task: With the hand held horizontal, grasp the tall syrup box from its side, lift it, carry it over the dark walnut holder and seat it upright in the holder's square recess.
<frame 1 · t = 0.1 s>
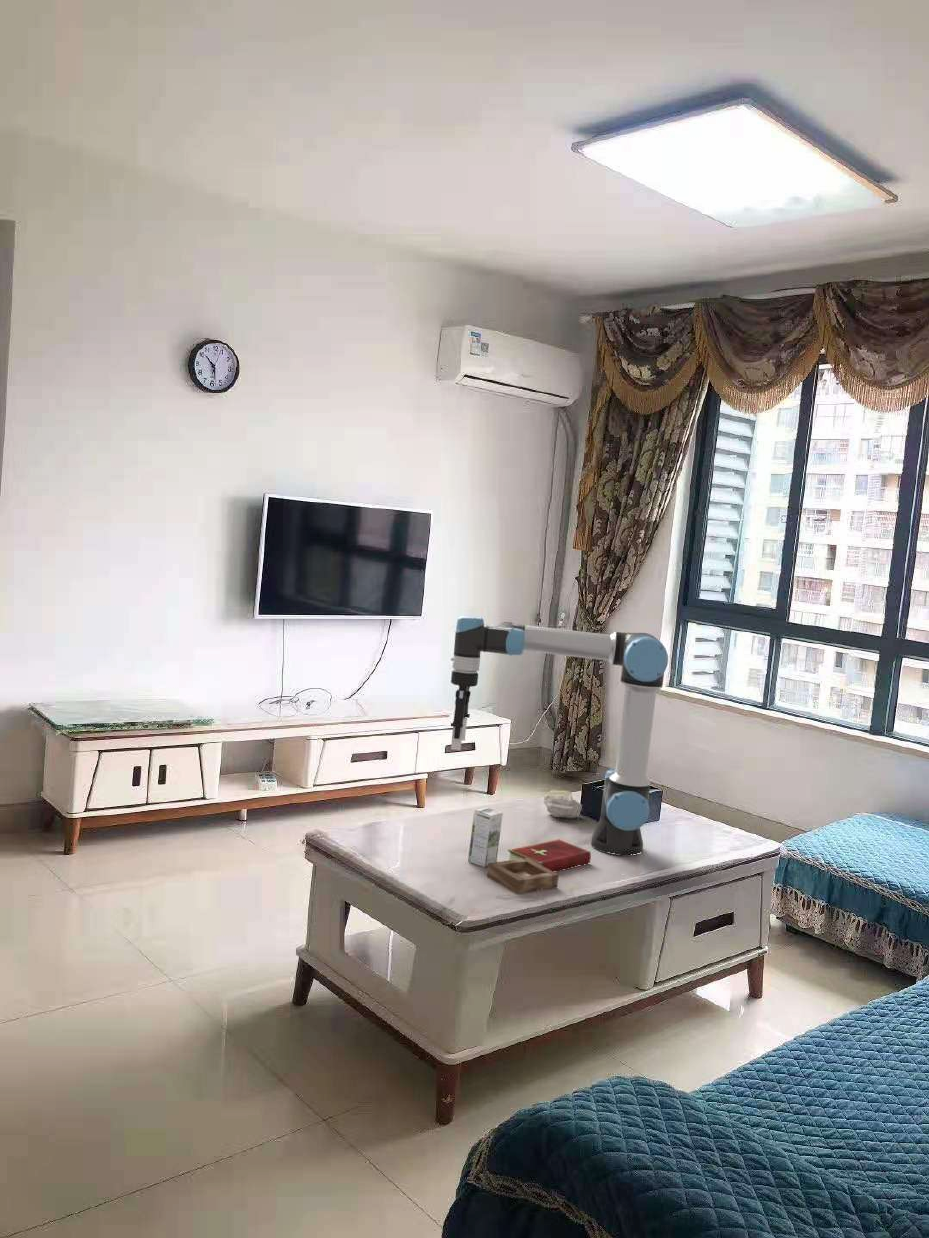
hand: (458, 744, 291), 28 cm above the table, tool pointing down, fingers open, 13 cm apart
walnut holder: (521, 881, 265), on the table
syrup box: (482, 863, 277), on the table
fossil replica: (561, 817, 330), on the table
hardcover book: (548, 865, 283), on the table
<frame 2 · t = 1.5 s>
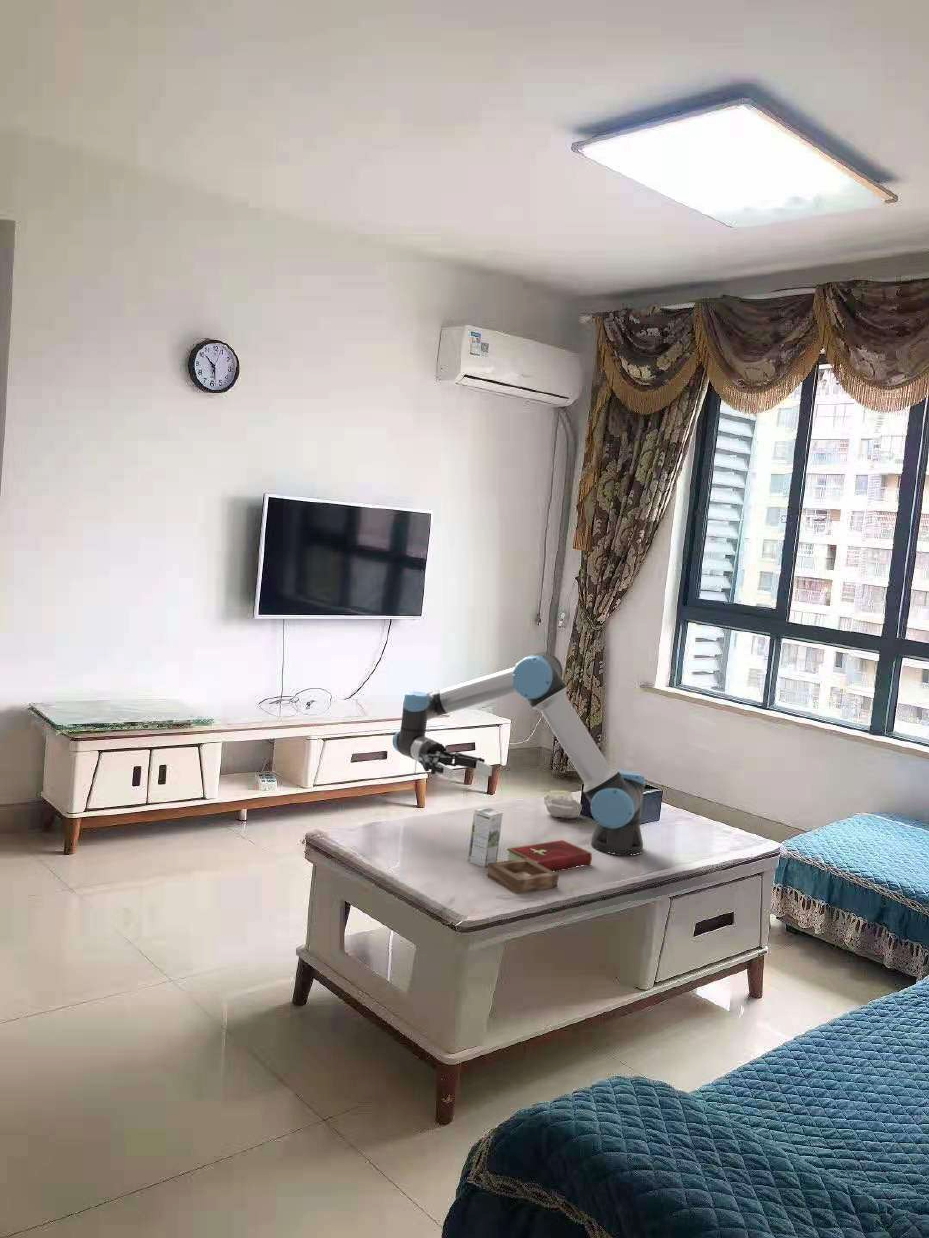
hand: (471, 772, 283), 22 cm above the table, tool horizontal, fingers open, 13 cm apart
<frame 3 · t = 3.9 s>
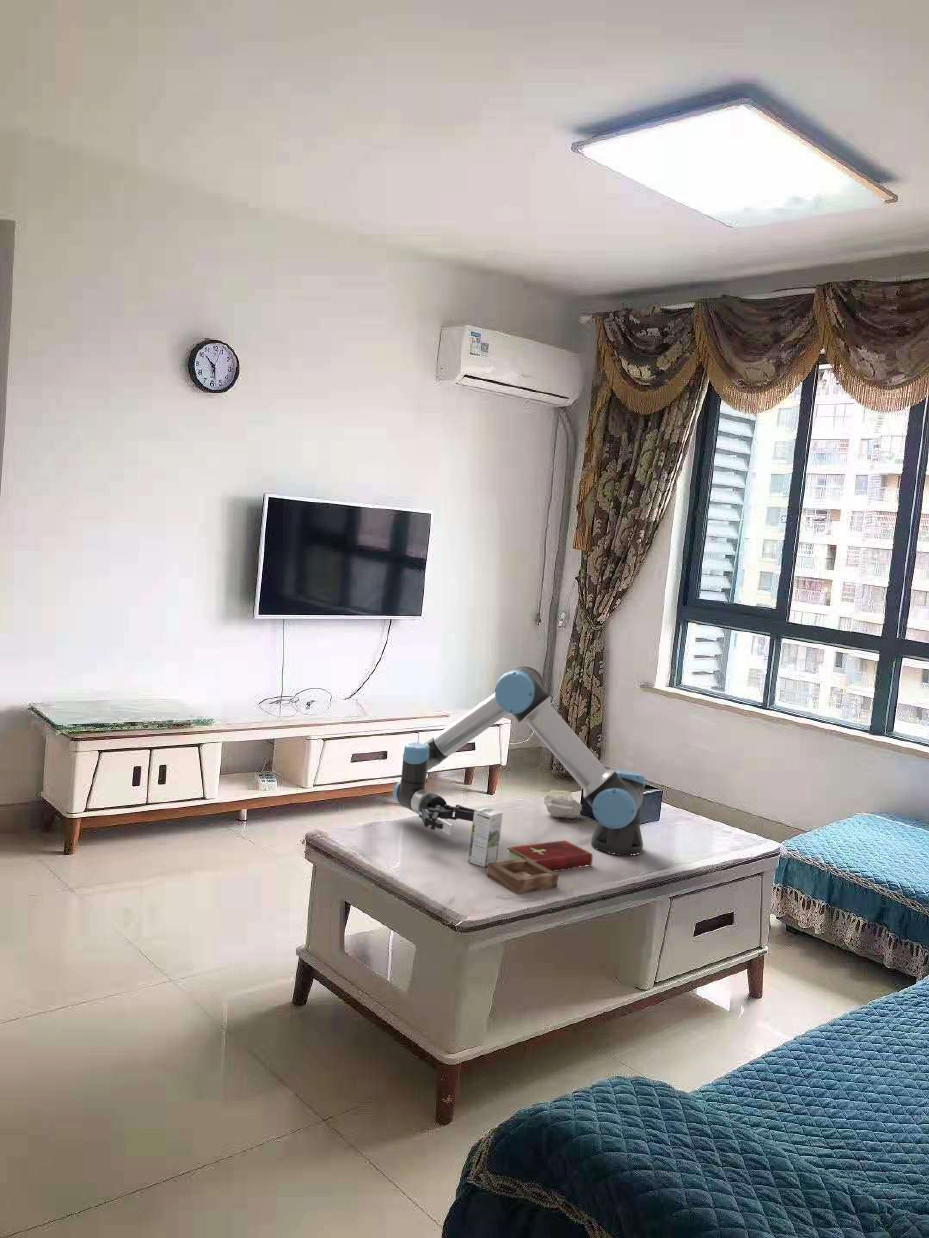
hand: (471, 827, 281), 8 cm above the table, tool horizontal, fingers open, 13 cm apart
nothing on the table moved.
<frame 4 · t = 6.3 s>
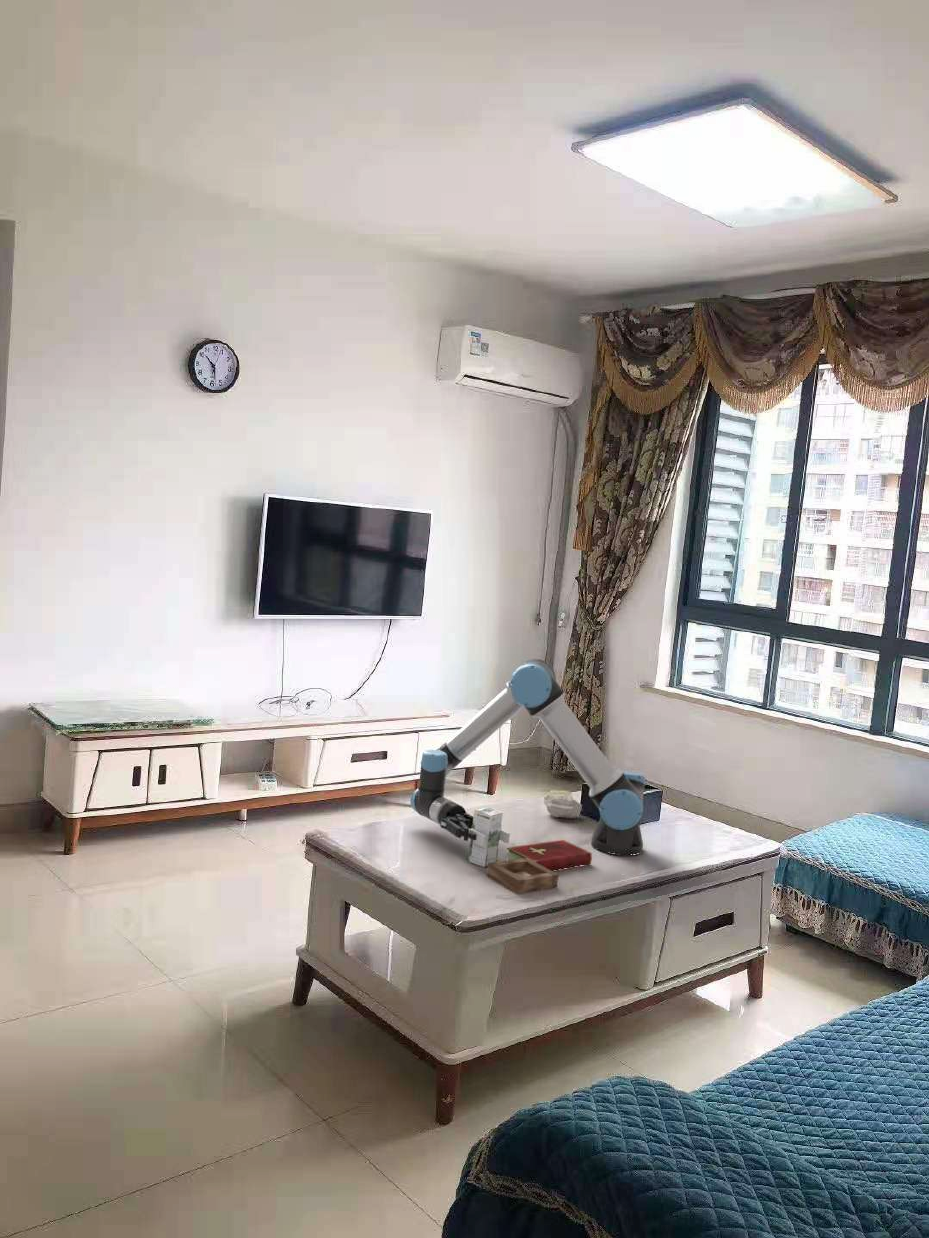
hand: (496, 839, 272), 8 cm above the table, tool horizontal, fingers closed on syrup box, 7 cm apart
syrup box: (482, 863, 277), on the table, touching gripper
everything else where it was.
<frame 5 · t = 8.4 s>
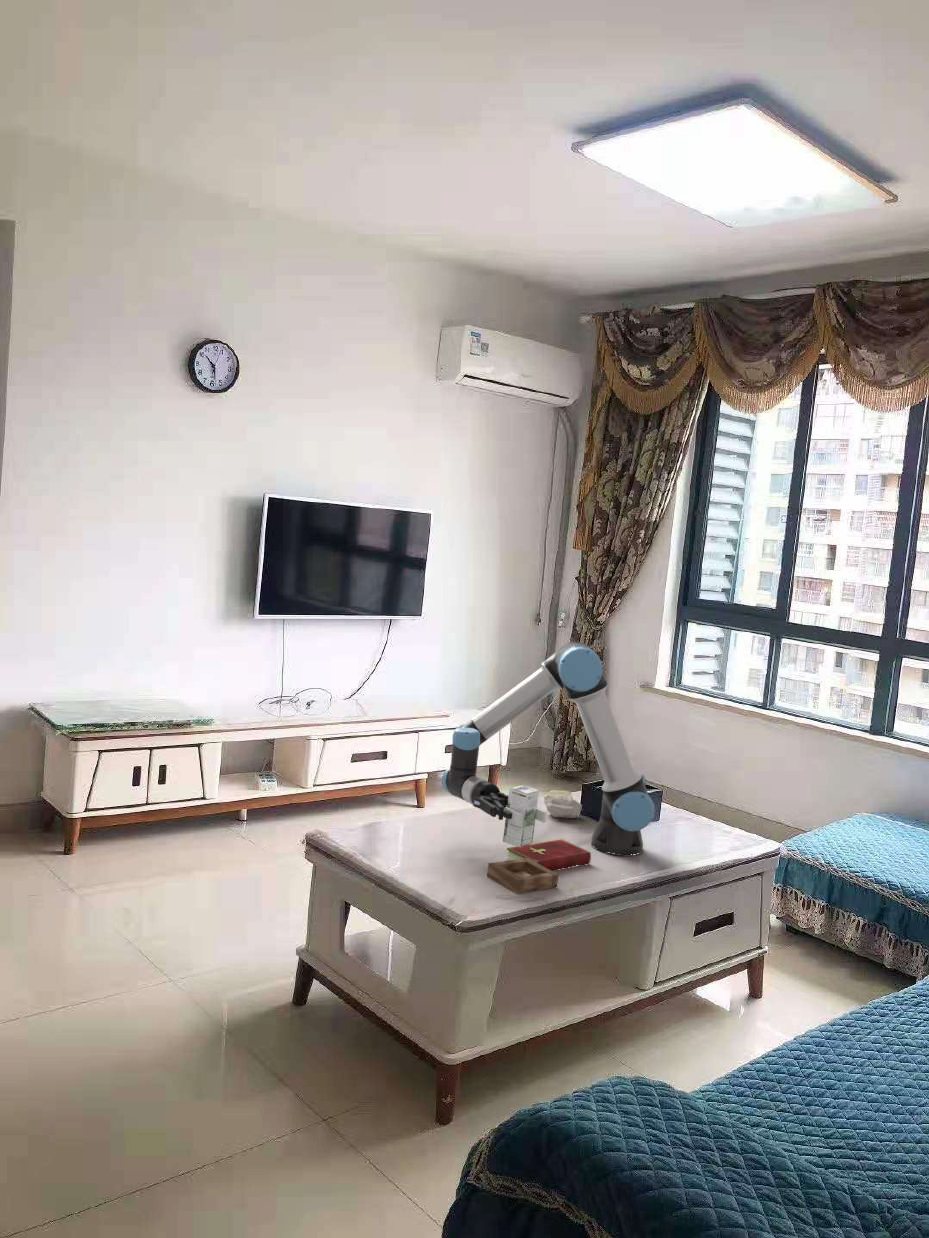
hand: (533, 818, 261), 18 cm above the table, tool horizontal, fingers closed on syrup box, 7 cm apart
syrup box: (517, 843, 266), point 10 cm above the table, touching gripper
everything else where it was.
when the fingers open (10 cm above the table, at t = 10.8 s): syrup box drops 1 cm, resting on walnut holder.
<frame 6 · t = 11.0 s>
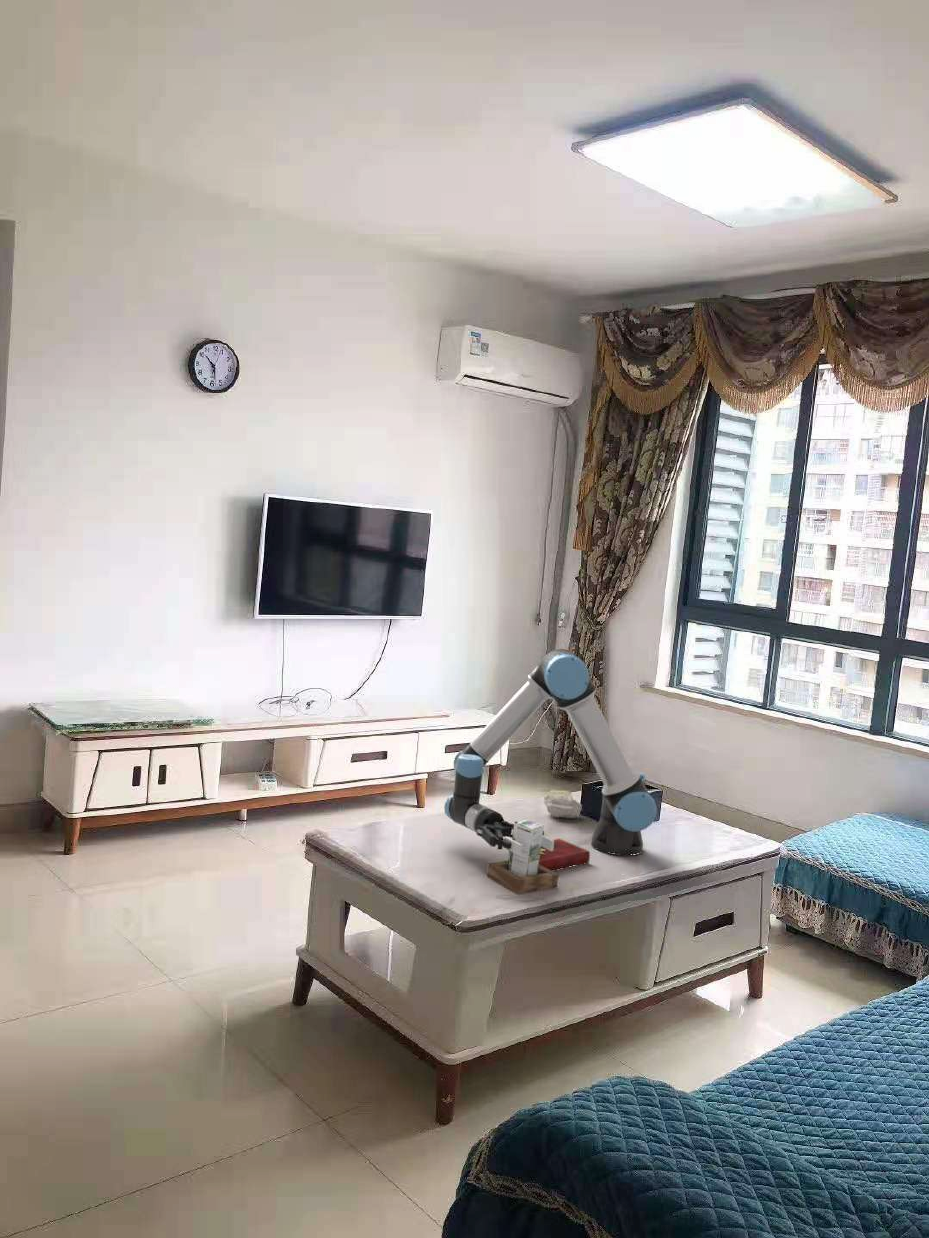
hand: (536, 847, 261), 10 cm above the table, tool horizontal, fingers open, 10 cm apart
syrup box: (522, 878, 265), point 1 cm above the table, touching walnut holder
everything else where it was.
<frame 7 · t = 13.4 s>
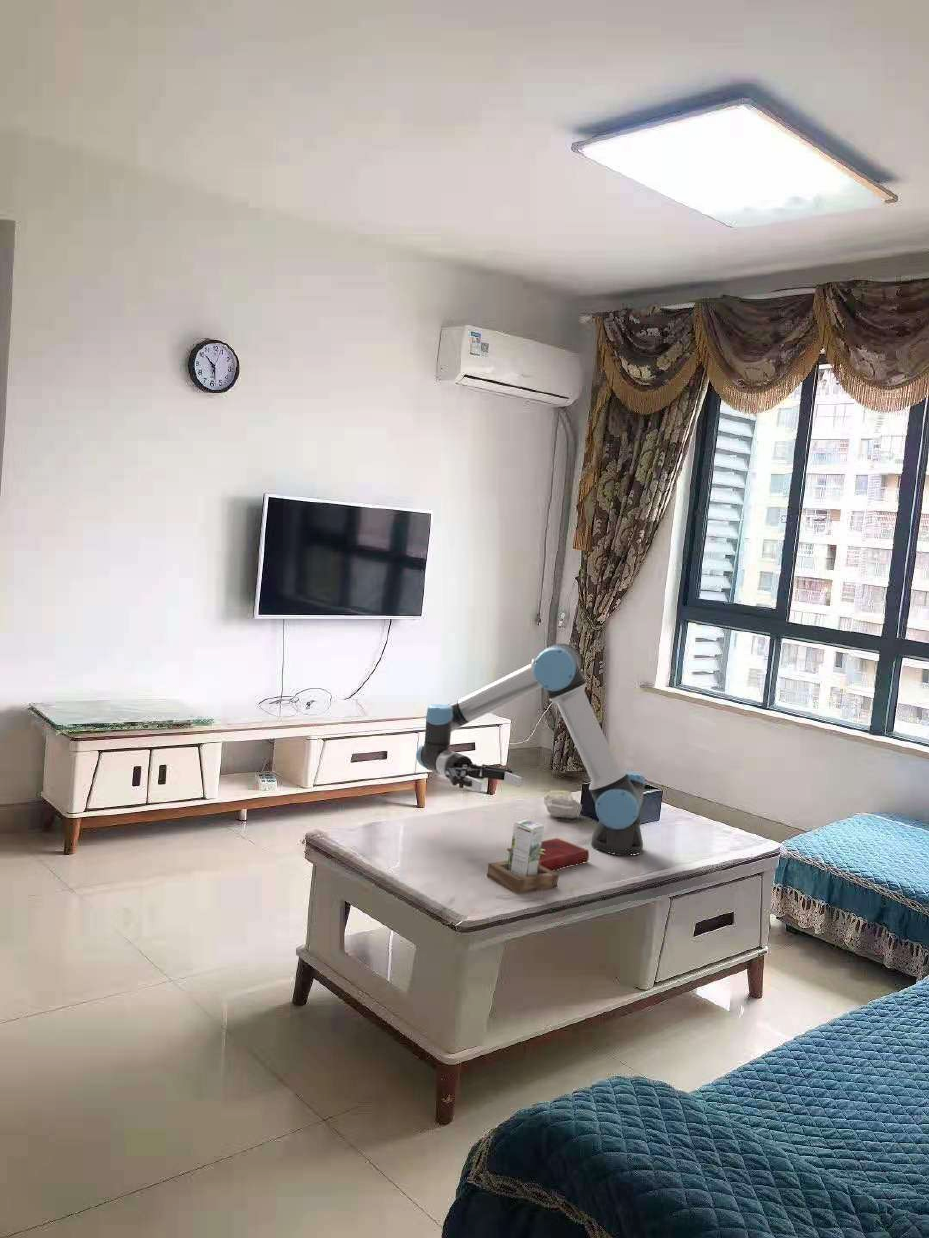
hand: (500, 784, 276), 22 cm above the table, tool horizontal, fingers open, 13 cm apart
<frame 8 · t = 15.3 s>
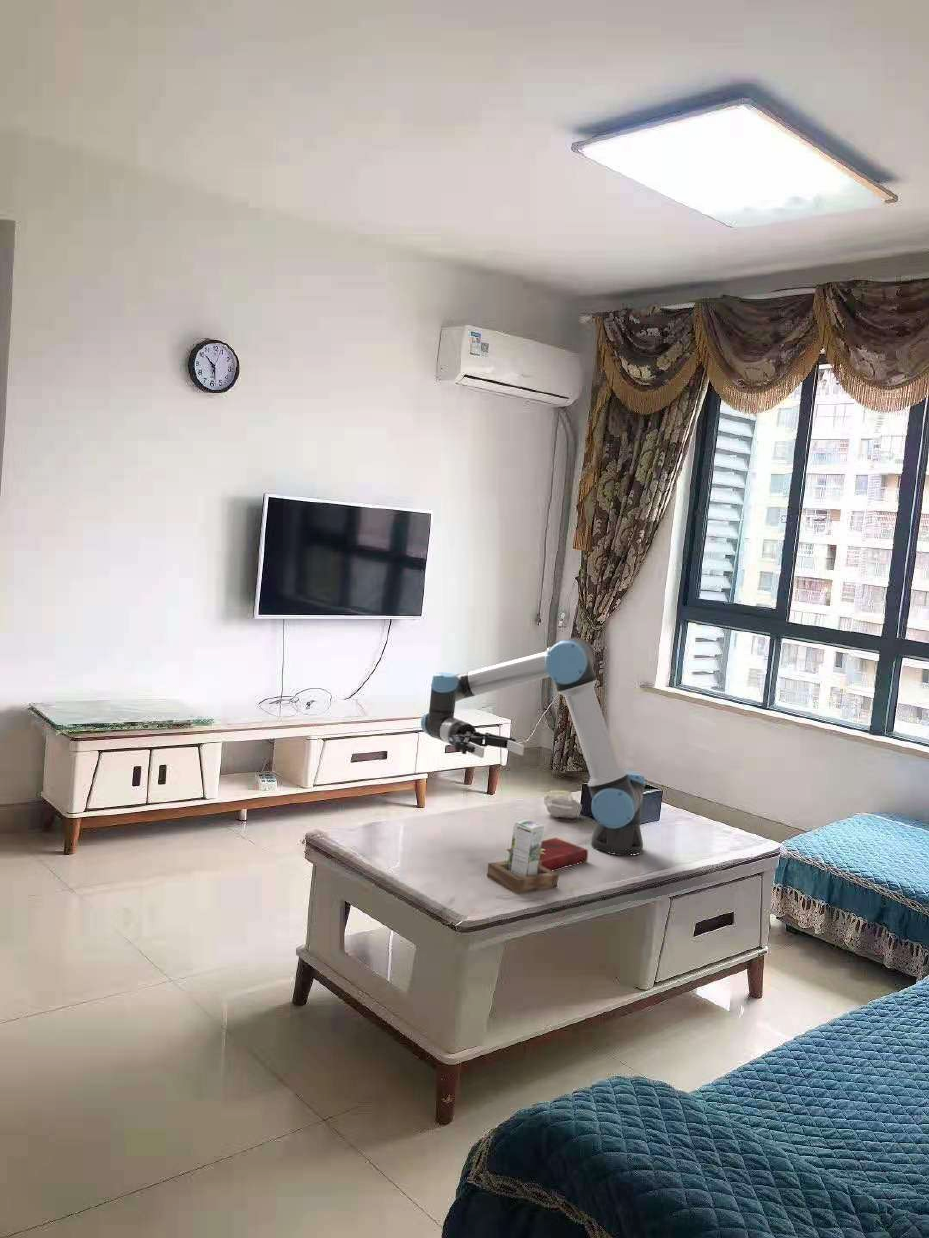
hand: (503, 751, 278), 30 cm above the table, tool horizontal, fingers open, 13 cm apart
at the end: syrup box inside the target area on the walnut holder (0.1 cm from its centre), point 0.9 cm above the walnut holder's base; syrup box tilted 0°; the gripper is holding nothing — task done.
